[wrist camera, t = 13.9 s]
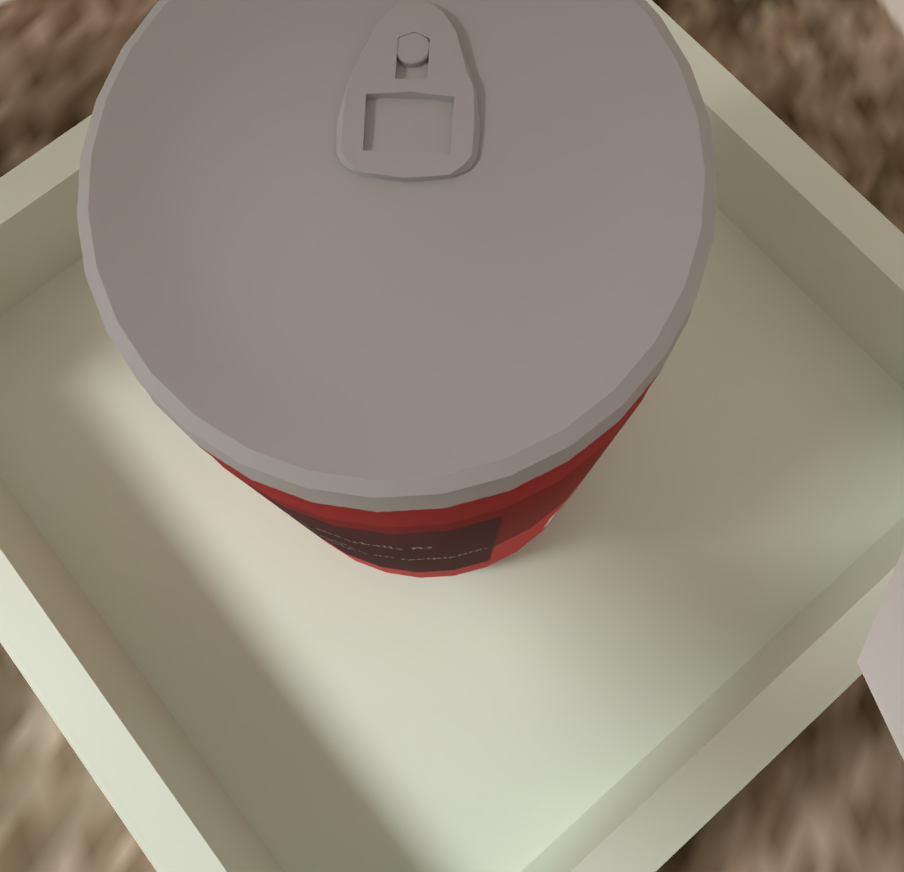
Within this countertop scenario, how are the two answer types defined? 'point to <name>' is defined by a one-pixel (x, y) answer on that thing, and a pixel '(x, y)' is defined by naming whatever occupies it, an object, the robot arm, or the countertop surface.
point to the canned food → (400, 251)
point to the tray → (472, 593)
